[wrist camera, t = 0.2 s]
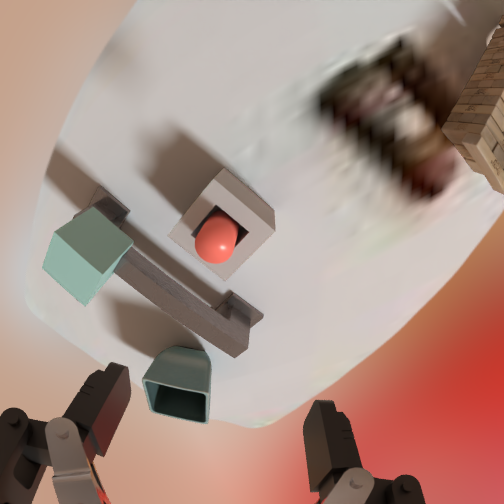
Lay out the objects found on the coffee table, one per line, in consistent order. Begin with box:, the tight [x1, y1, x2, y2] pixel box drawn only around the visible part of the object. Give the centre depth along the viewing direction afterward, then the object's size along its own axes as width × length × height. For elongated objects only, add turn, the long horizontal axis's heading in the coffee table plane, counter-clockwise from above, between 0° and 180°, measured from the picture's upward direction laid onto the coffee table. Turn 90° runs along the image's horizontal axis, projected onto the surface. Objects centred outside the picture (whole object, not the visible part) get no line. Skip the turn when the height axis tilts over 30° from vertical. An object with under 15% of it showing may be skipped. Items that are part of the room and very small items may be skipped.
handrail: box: [72, 186, 264, 358], centre depth 31 cm, size 5×26×6 cm, turn 49°
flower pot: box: [142, 346, 212, 424], centre depth 37 cm, size 9×9×9 cm
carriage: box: [42, 207, 134, 306], centre depth 25 cm, size 5×6×7 cm
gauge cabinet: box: [168, 168, 275, 281], centre depth 28 cm, size 7×7×6 cm
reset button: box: [195, 210, 239, 264], centre depth 25 cm, size 3×3×4 cm
